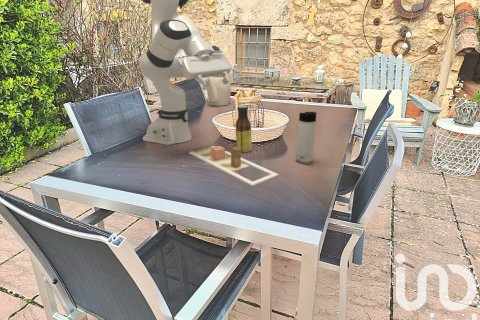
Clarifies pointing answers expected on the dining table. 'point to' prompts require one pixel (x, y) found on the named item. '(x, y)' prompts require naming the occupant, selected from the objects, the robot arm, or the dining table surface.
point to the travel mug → (306, 137)
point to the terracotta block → (217, 152)
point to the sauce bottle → (243, 130)
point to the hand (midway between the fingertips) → (216, 84)
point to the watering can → (218, 91)
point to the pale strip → (227, 162)
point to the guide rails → (272, 174)
